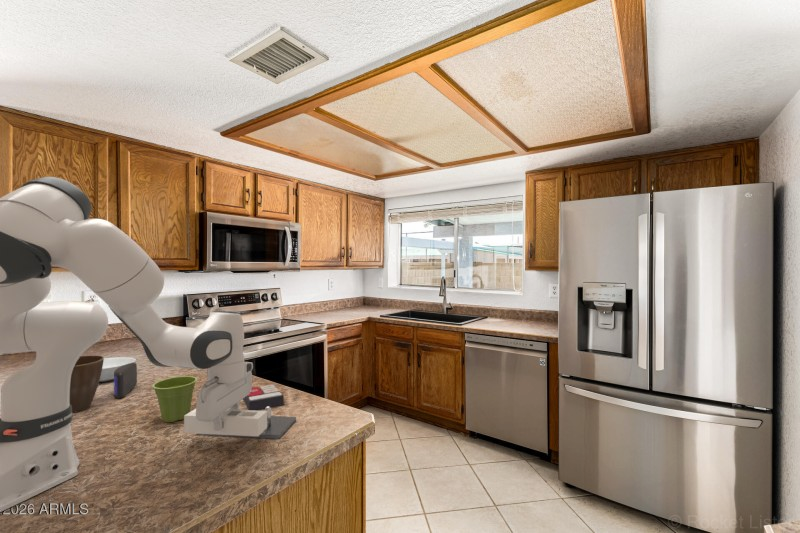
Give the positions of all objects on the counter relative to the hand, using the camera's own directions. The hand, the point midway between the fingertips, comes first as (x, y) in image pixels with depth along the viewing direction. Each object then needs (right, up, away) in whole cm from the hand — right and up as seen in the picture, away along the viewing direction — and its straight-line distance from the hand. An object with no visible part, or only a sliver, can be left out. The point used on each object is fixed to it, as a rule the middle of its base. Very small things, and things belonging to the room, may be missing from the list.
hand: (226, 424), depth 97 cm
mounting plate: (+2, -5, +10) cm, 12 cm away
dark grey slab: (-56, -6, +41) cm, 70 cm away
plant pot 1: (-61, -6, +24) cm, 66 cm away
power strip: (0, -2, 0) cm, 2 cm away
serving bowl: (-78, -6, +57) cm, 97 cm away
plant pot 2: (-24, -6, +17) cm, 30 cm away
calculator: (-2, -6, +31) cm, 31 cm away
